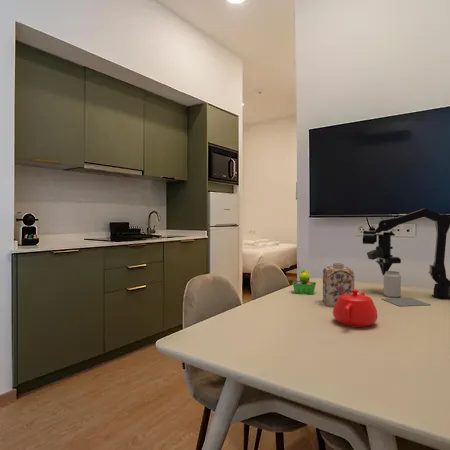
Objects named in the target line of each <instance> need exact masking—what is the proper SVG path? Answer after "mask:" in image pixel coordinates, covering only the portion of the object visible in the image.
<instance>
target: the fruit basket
mask: <svg viewBox="0 0 450 450" xmlns="http://www.w3.org/2000/svg"><path fill="white" fill-rule="evenodd" d="M298 277H299V280H295V281H293V282H292V286H293V290H294V294H301V295H303V294H304V295H314V292H315V287H316V285H317V282H316V281H310V278H311V277H310V274H309V272H308V270H307V269H302V270H301V272H300V274H299V276H298Z"/></svg>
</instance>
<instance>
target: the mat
mask: <svg viewBox="0 0 450 450" xmlns="http://www.w3.org/2000/svg"><path fill="white" fill-rule="evenodd" d="M381 300H382V301H384V302H387V303H390V304H391V305H394V306H397V307H416V306H417V307H421V306H431V305H432V304H430V303H427V302H424V301H422V300H418V299H417V298H414V297H398V298H391V297H387V298H381Z"/></svg>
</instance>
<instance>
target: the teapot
mask: <svg viewBox="0 0 450 450" xmlns="http://www.w3.org/2000/svg"><path fill="white" fill-rule="evenodd" d="M351 291H352V293H353V294H343V295H340V296H339V298H338V299H337V302H336V303H335V306H333V310H332V316H333V318H335V320H336V321H337V322H339V323H341V324H342V325H344V324H345V325H344V326H347V325H348V327H351V326H353V328H366V326H367V327H368V326H372V325H373V324H374V323H376V322H377V320H378V310H377V307H376V305H375V303H374V301H373V299H372V297H370V296H368V295H365V294H366V291H365V290H361V292H360V294H358V293H359V291H360V290H359V289H355V288H354V289H352V290H351Z"/></svg>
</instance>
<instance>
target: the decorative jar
mask: <svg viewBox="0 0 450 450" xmlns="http://www.w3.org/2000/svg"><path fill="white" fill-rule="evenodd" d="M352 289H355V273H354V270H353V269H352V268H351V267H348V266H345V264H344V263H343V262H333V263H332V265H331V266H330V265H329V266H325V267H324V268H323V270H322V300H323V302H324V303H325V304H326V306H327V307H334V306H335V303H336V302H337V299H338V298H339V296H340V295H343V294H353V293H352V291H351V290H352Z"/></svg>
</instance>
